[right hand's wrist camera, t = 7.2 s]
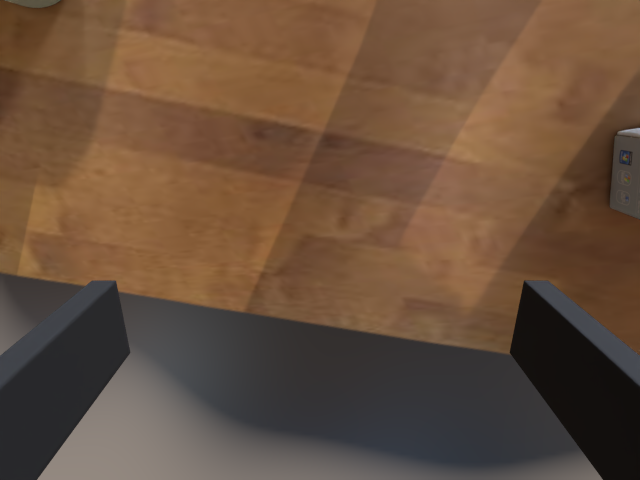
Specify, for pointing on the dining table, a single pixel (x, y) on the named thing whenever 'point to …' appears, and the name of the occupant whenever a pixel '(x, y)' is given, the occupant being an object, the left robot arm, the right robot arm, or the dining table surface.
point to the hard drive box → (626, 173)
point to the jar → (34, 3)
